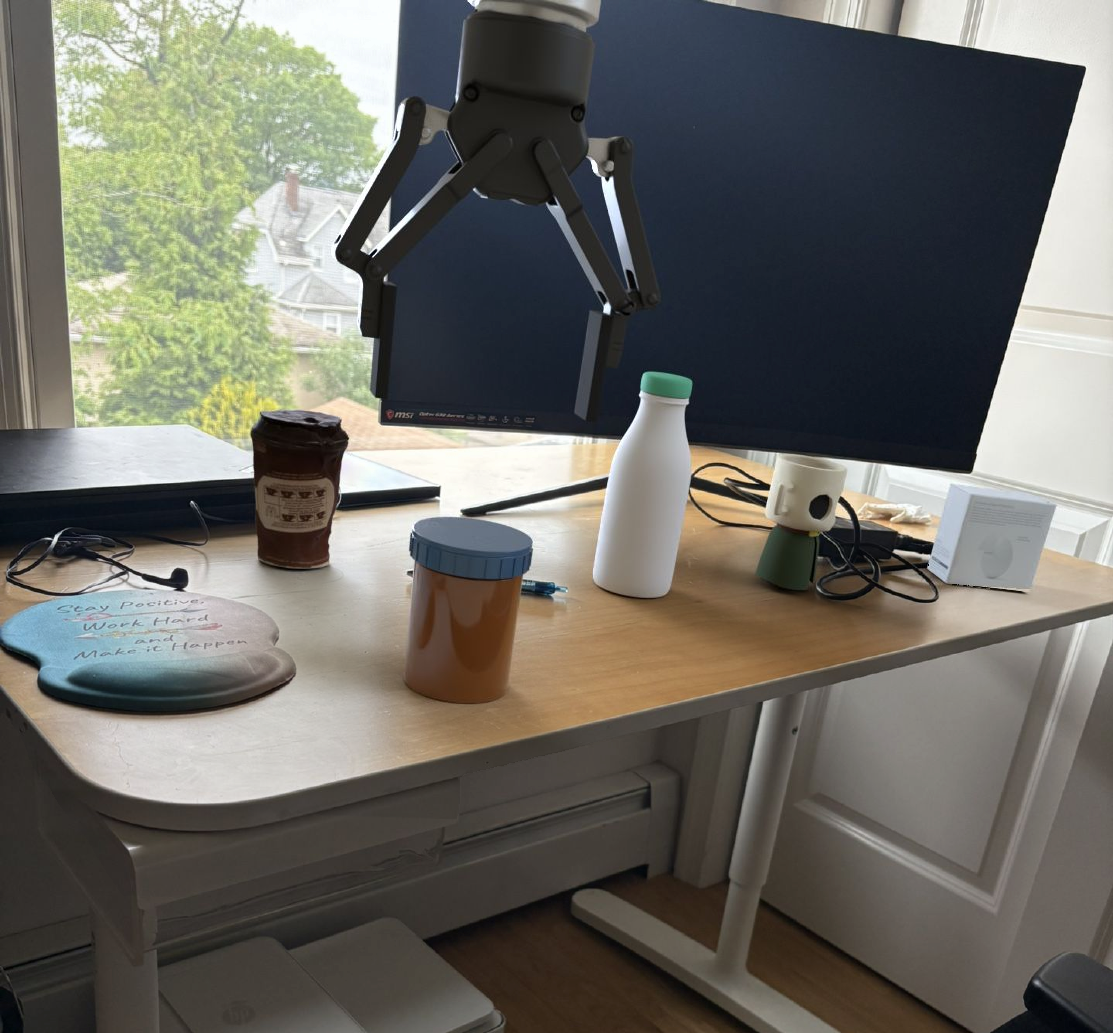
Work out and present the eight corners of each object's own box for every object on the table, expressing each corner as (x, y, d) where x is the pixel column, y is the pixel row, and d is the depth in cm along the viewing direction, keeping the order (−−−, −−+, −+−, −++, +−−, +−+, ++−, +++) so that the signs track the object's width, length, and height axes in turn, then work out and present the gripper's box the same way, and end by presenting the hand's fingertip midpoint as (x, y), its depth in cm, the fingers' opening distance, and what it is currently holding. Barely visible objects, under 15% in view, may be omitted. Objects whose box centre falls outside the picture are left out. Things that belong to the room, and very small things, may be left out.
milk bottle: (673, 604, 108) (715, 387, 99) (592, 593, 107) (628, 374, 99) (665, 580, 115) (704, 376, 106) (589, 570, 114) (623, 363, 106)
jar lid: (413, 573, 74) (416, 545, 73) (405, 537, 81) (407, 511, 81) (539, 584, 76) (543, 556, 75) (519, 548, 83) (523, 522, 83)
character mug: (785, 603, 113) (816, 473, 108) (726, 582, 117) (753, 456, 112) (837, 589, 121) (869, 467, 116) (780, 569, 125) (808, 451, 120)
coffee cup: (345, 579, 100) (355, 430, 95) (247, 573, 98) (252, 420, 92) (335, 550, 108) (345, 410, 102) (245, 544, 105) (249, 400, 100)
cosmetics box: (1006, 578, 137) (1034, 492, 133) (1030, 594, 131) (1060, 505, 127) (924, 567, 136) (949, 480, 132) (944, 584, 130) (971, 493, 126)
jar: (406, 700, 78) (421, 551, 74) (400, 659, 85) (412, 520, 81) (514, 706, 80) (535, 561, 76) (499, 665, 87) (518, 530, 82)
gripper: (310, -39, 57) (288, 395, 66) (758, 60, 64) (685, 438, 73) (299, -19, 63) (281, 374, 72) (708, 69, 71) (646, 415, 80)
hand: (484, 407), depth 73 cm, fingers open, 13 cm apart
